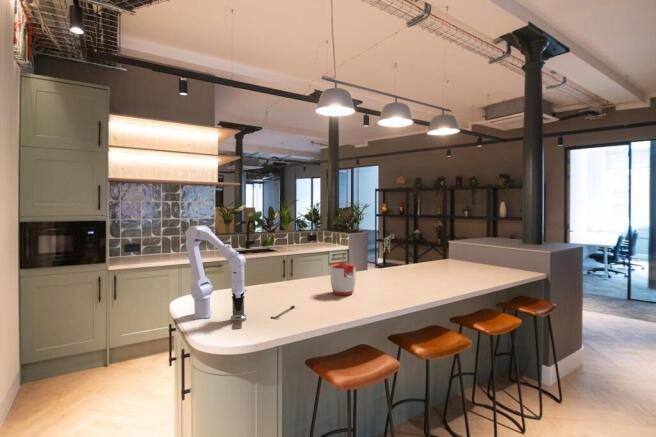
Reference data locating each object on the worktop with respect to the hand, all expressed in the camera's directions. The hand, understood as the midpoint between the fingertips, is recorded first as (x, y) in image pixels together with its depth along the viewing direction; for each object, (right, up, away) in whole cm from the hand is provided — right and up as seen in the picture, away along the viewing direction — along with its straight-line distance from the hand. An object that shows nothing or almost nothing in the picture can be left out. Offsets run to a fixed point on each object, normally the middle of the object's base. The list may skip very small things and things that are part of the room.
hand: (238, 309), depth 170 cm
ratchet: (+1, -5, -4) cm, 7 cm away
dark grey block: (0, -2, 0) cm, 2 cm away
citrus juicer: (+52, -3, +50) cm, 72 cm away
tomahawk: (+21, -5, +11) cm, 25 cm away
